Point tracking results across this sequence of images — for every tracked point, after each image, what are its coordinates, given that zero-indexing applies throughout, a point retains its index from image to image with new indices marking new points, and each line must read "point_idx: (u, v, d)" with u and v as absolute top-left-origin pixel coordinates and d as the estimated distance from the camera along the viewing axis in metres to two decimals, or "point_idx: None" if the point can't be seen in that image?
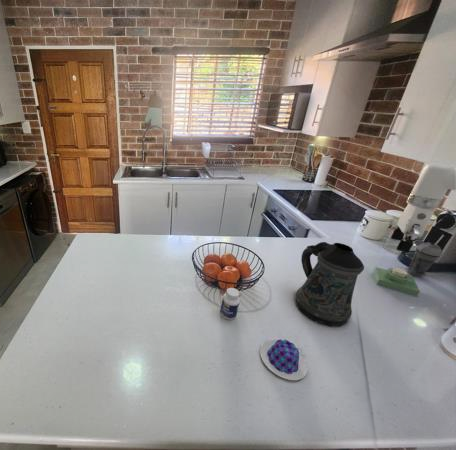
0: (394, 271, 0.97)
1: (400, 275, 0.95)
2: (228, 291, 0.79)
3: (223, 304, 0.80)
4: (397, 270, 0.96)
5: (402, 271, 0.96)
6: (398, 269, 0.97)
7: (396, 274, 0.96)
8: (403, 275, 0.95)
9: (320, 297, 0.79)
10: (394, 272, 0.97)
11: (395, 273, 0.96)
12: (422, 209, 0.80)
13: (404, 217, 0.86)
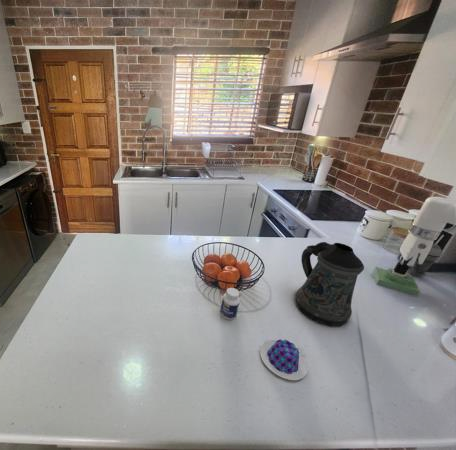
0: (393, 273, 0.97)
1: None
2: (228, 291, 0.79)
3: (223, 304, 0.80)
4: None
5: None
6: None
7: None
8: (402, 277, 0.95)
9: (320, 297, 0.79)
10: None
11: None
12: (423, 239, 0.86)
13: (406, 245, 0.92)
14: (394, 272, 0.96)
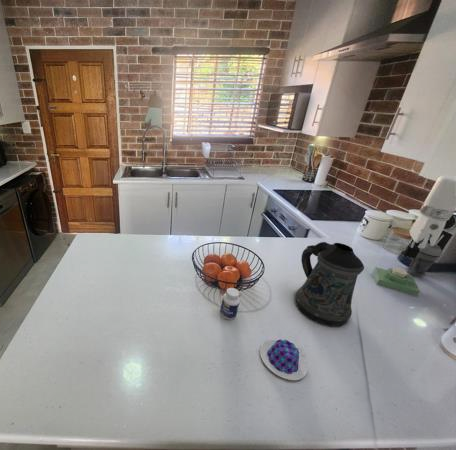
0: (394, 271, 0.97)
1: (400, 275, 0.95)
2: (228, 291, 0.79)
3: (223, 304, 0.80)
4: (397, 270, 0.96)
5: (402, 271, 0.96)
6: (398, 269, 0.97)
7: (396, 274, 0.96)
8: (403, 275, 0.95)
9: (320, 297, 0.79)
10: (394, 272, 0.97)
11: (395, 273, 0.96)
12: (435, 220, 0.82)
13: (416, 227, 0.88)
14: (395, 270, 0.96)
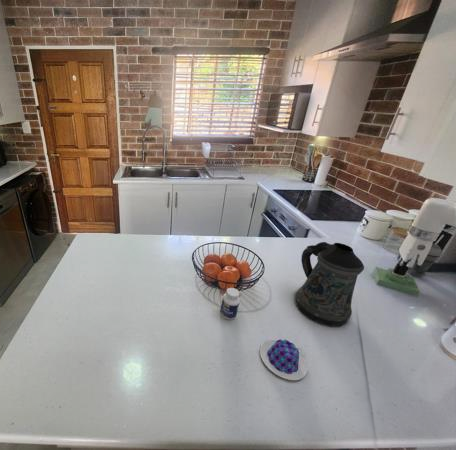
0: None
1: None
2: (228, 291, 0.79)
3: (223, 304, 0.80)
4: None
5: None
6: None
7: None
8: None
9: (320, 297, 0.79)
10: None
11: None
12: (422, 241, 0.86)
13: (405, 246, 0.92)
14: (393, 273, 0.97)
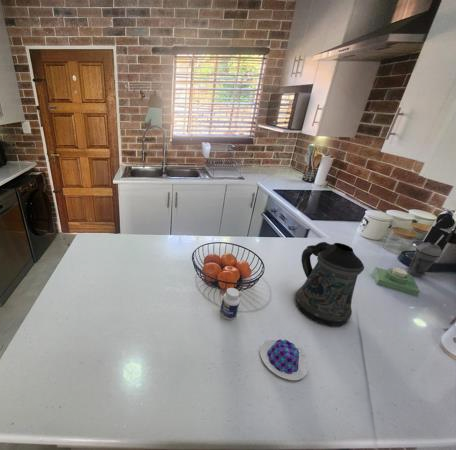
0: (394, 271, 0.97)
1: (400, 275, 0.95)
2: (228, 291, 0.79)
3: (223, 304, 0.80)
4: (397, 270, 0.96)
5: (402, 271, 0.96)
6: (398, 269, 0.97)
7: (396, 274, 0.96)
8: (403, 275, 0.95)
9: (320, 297, 0.79)
10: (394, 272, 0.97)
11: (395, 273, 0.96)
12: None
13: None
14: (395, 270, 0.96)
